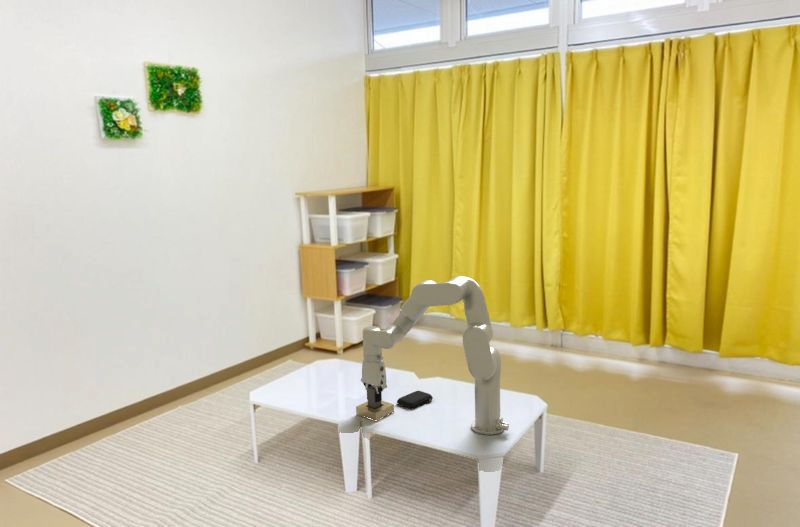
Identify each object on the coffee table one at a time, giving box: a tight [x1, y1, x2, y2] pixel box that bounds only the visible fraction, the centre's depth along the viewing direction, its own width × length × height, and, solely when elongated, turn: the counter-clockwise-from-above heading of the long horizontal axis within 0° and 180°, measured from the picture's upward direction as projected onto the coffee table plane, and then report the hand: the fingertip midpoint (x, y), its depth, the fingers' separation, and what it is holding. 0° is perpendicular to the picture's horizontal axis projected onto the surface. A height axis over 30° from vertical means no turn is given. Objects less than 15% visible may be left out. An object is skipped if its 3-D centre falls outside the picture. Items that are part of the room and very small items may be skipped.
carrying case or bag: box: [396, 390, 433, 410], centre depth 238 cm, size 11×3×15 cm
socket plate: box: [355, 400, 395, 421], centre depth 228 cm, size 11×11×4 cm
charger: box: [366, 385, 382, 409], centre depth 228 cm, size 4×4×8 cm
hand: (374, 399), depth 228 cm, fingers closed on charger, 4 cm apart
